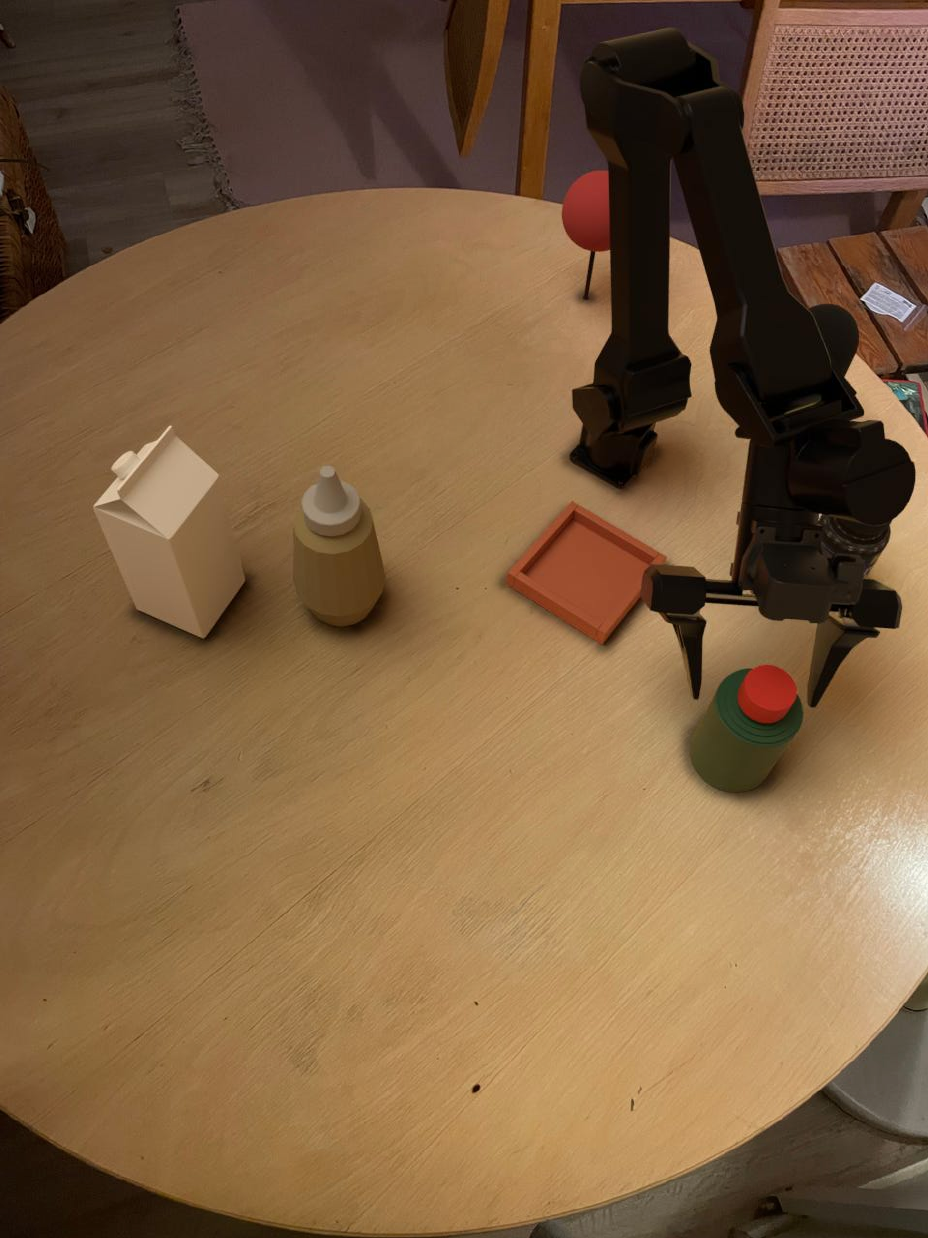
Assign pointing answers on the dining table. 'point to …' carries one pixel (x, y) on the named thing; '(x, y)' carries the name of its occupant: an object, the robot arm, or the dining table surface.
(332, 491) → the squeeze bottle
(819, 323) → the decorative object
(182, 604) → the milk carton
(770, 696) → the cap
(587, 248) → the lollipop
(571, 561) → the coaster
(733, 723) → the bottle
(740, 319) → the robot arm
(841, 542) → the pill bottle
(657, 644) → the dining table surface
